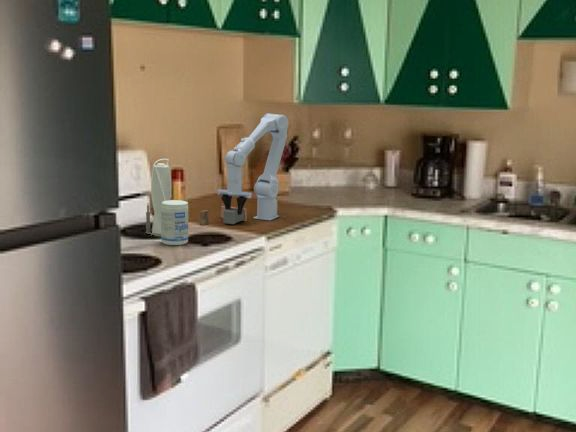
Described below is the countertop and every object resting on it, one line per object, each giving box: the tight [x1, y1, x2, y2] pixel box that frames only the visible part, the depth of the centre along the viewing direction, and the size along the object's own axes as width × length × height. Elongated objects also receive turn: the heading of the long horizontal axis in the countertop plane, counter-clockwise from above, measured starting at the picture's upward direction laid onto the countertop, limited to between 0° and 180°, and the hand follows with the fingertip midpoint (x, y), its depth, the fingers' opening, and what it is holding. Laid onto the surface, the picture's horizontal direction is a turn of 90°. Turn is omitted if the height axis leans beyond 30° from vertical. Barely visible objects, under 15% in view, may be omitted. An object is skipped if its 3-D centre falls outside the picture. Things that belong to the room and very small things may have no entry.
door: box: [220, 205, 248, 222], centre depth 276 cm, size 11×1×5 cm, turn 67°
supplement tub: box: [160, 199, 189, 246], centre depth 234 cm, size 10×10×15 cm
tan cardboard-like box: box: [199, 203, 225, 226], centre depth 273 cm, size 20×2×6 cm, turn 157°
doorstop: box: [223, 208, 244, 225], centre depth 270 cm, size 9×4×5 cm, turn 157°
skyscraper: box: [145, 158, 172, 238], centre depth 246 cm, size 8×8×28 cm
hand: (234, 213), depth 270 cm, fingers closed on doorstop, 4 cm apart
